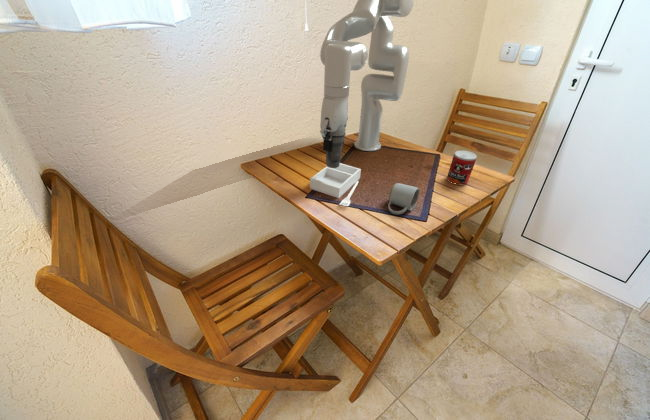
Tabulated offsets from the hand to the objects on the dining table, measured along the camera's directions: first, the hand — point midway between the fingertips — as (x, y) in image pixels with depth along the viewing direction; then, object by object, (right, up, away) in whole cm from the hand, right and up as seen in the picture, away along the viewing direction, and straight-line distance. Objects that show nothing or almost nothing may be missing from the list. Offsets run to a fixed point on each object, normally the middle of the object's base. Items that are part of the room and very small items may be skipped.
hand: (333, 146), depth 96 cm
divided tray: (+1, -11, +11) cm, 16 cm away
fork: (+6, -16, +6) cm, 18 cm away
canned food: (+48, -10, +15) cm, 52 cm away
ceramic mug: (+22, -21, 0) cm, 30 cm away
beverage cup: (0, -6, +4) cm, 7 cm away
